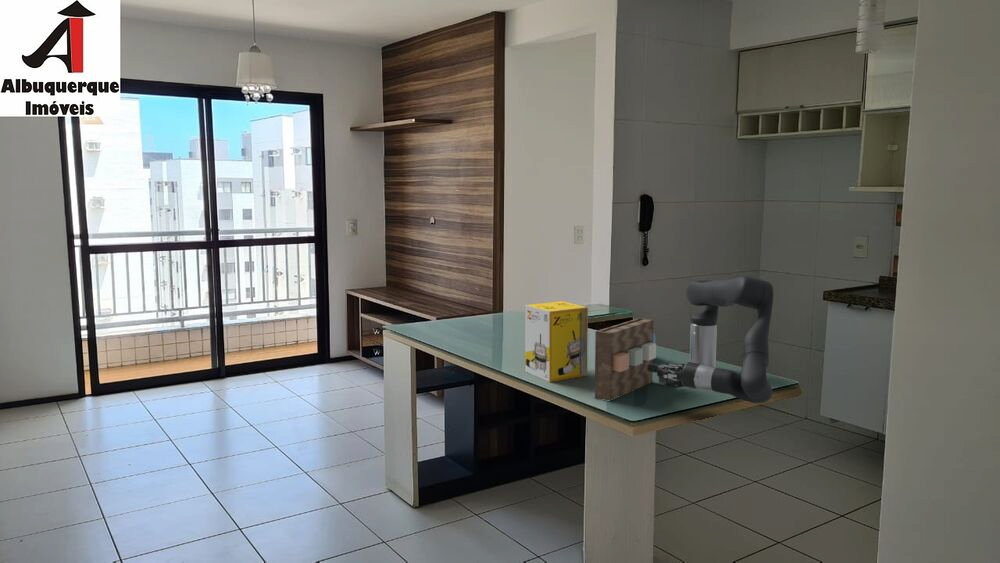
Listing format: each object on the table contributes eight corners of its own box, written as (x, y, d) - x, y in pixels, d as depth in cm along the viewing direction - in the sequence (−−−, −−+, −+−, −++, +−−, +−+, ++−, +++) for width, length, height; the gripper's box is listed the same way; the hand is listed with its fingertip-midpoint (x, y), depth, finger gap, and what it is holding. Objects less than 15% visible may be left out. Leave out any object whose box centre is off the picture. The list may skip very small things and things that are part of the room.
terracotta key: (616, 366, 231) (617, 351, 230) (628, 368, 228) (629, 353, 227) (608, 369, 227) (608, 354, 227) (620, 372, 224) (621, 356, 224)
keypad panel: (638, 379, 250) (639, 317, 247) (652, 382, 247) (653, 319, 243) (594, 398, 229) (595, 331, 226) (609, 401, 225) (610, 333, 222)
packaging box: (587, 375, 255) (587, 307, 252) (549, 382, 247) (549, 311, 244) (561, 365, 269) (561, 300, 266) (525, 371, 261) (524, 304, 258)
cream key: (644, 355, 245) (644, 341, 244) (655, 357, 242) (656, 343, 241) (636, 358, 241) (637, 344, 240) (648, 360, 238) (649, 346, 237)
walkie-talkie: (670, 390, 238) (716, 382, 247) (671, 377, 238) (717, 370, 246) (654, 383, 246) (699, 376, 255) (654, 371, 246) (699, 364, 254)
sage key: (630, 361, 238) (631, 346, 237) (642, 363, 235) (643, 348, 234) (623, 364, 234) (623, 349, 233) (635, 366, 231) (635, 351, 230)
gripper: (711, 360, 214) (658, 351, 225) (691, 369, 204) (638, 359, 215) (710, 384, 215) (658, 374, 226) (690, 394, 205) (637, 383, 216)
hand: (648, 367), depth 221 cm, fingers closed
